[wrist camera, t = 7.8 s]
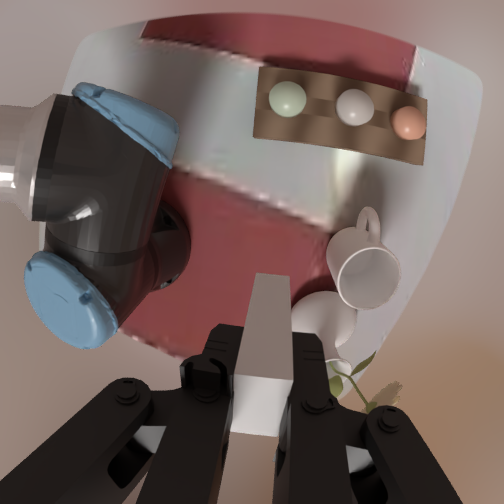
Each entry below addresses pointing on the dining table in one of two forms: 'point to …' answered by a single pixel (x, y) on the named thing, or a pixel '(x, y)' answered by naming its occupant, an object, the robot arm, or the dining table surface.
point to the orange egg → (408, 123)
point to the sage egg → (287, 99)
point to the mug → (363, 264)
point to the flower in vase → (336, 341)
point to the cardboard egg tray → (327, 123)
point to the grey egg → (354, 107)
